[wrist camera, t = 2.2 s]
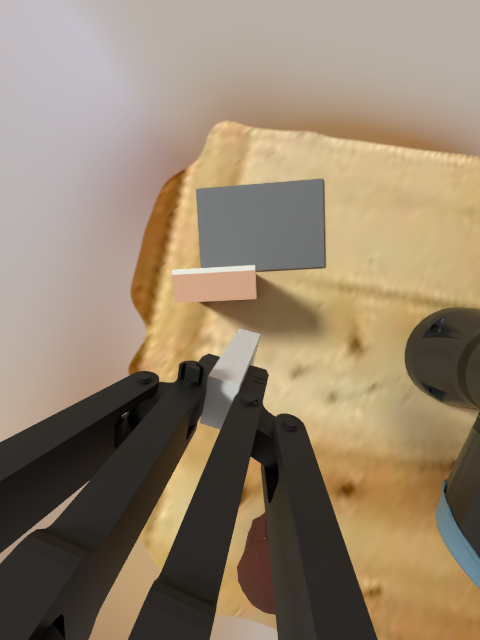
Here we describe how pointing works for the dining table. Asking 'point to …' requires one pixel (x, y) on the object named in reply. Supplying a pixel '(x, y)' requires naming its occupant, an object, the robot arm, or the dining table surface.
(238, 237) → the mat
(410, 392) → the dining table surface
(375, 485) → the dining table surface
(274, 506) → the robot arm
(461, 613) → the dining table surface
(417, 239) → the dining table surface
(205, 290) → the tan and white box
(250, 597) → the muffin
